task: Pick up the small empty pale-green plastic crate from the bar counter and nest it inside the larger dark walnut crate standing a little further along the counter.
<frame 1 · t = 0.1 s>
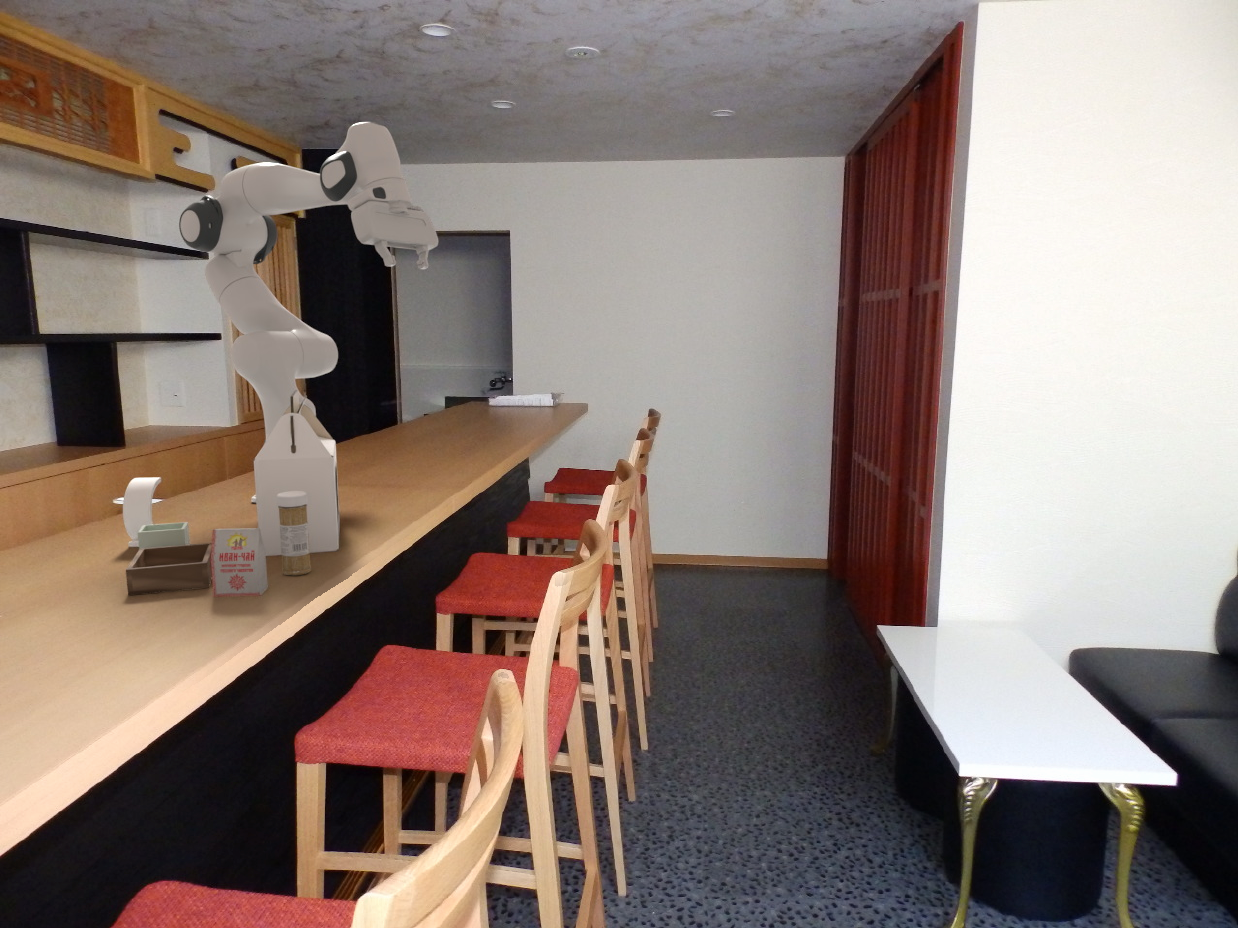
hand: (407, 267, 169), 52 cm above the table, tool tilted 20°, fingers open, 8 cm apart
large crate: (174, 579, 134), on the table
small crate: (166, 560, 145), on the table
headphone stand: (146, 544, 156), on the table
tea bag: (241, 593, 128), on the table
gable box: (302, 540, 160), on the table
sprinkles bottle: (296, 573, 139), on the table
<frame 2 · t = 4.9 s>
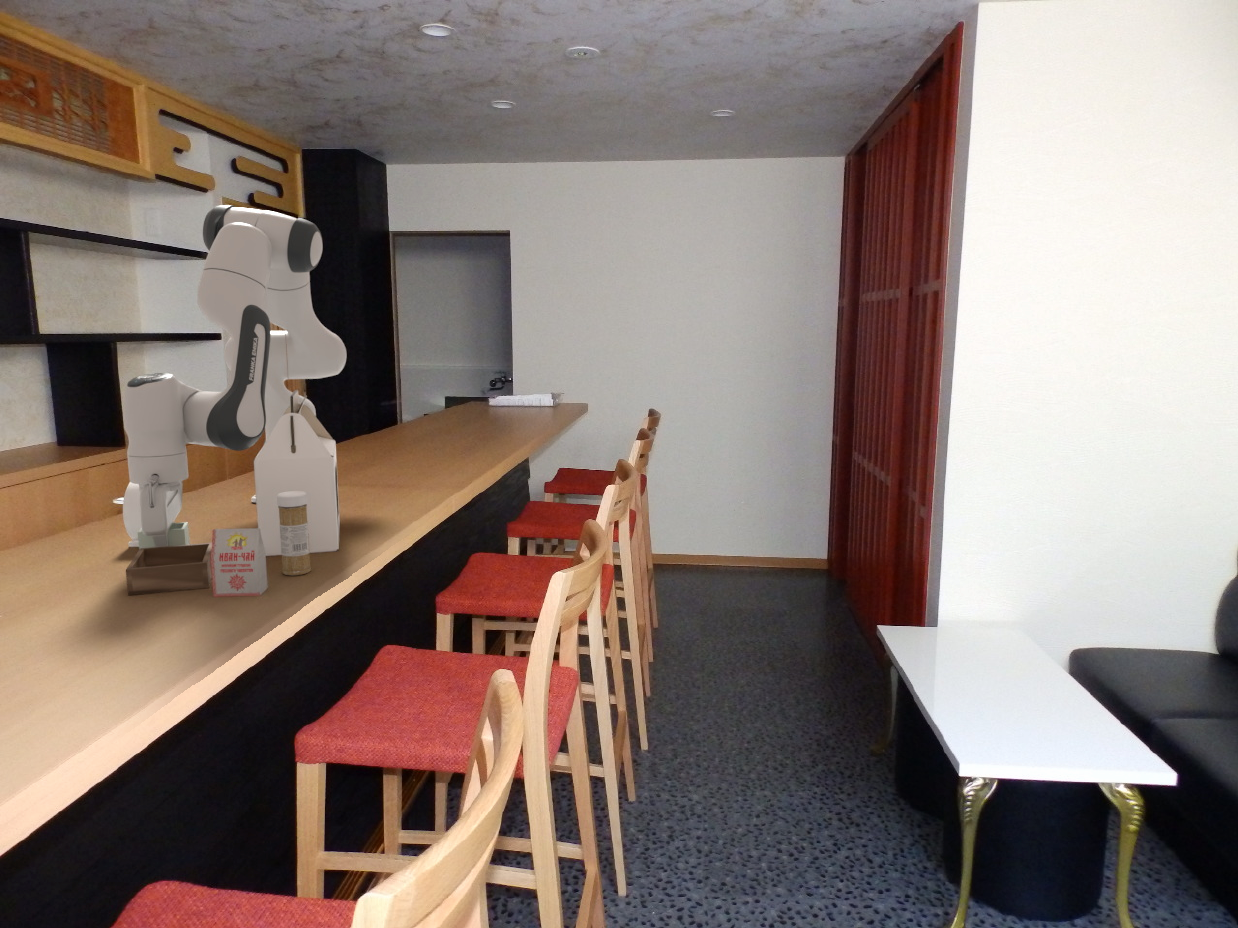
hand: (165, 548, 145), 2 cm above the table, tool pointing down, fingers closed on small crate, 5 cm apart
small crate: (166, 560, 145), on the table, touching gripper
everything else where it was.
when the fingers open (3 cm above the table, at t = 9.4 s): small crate stays where it is, resting on large crate.
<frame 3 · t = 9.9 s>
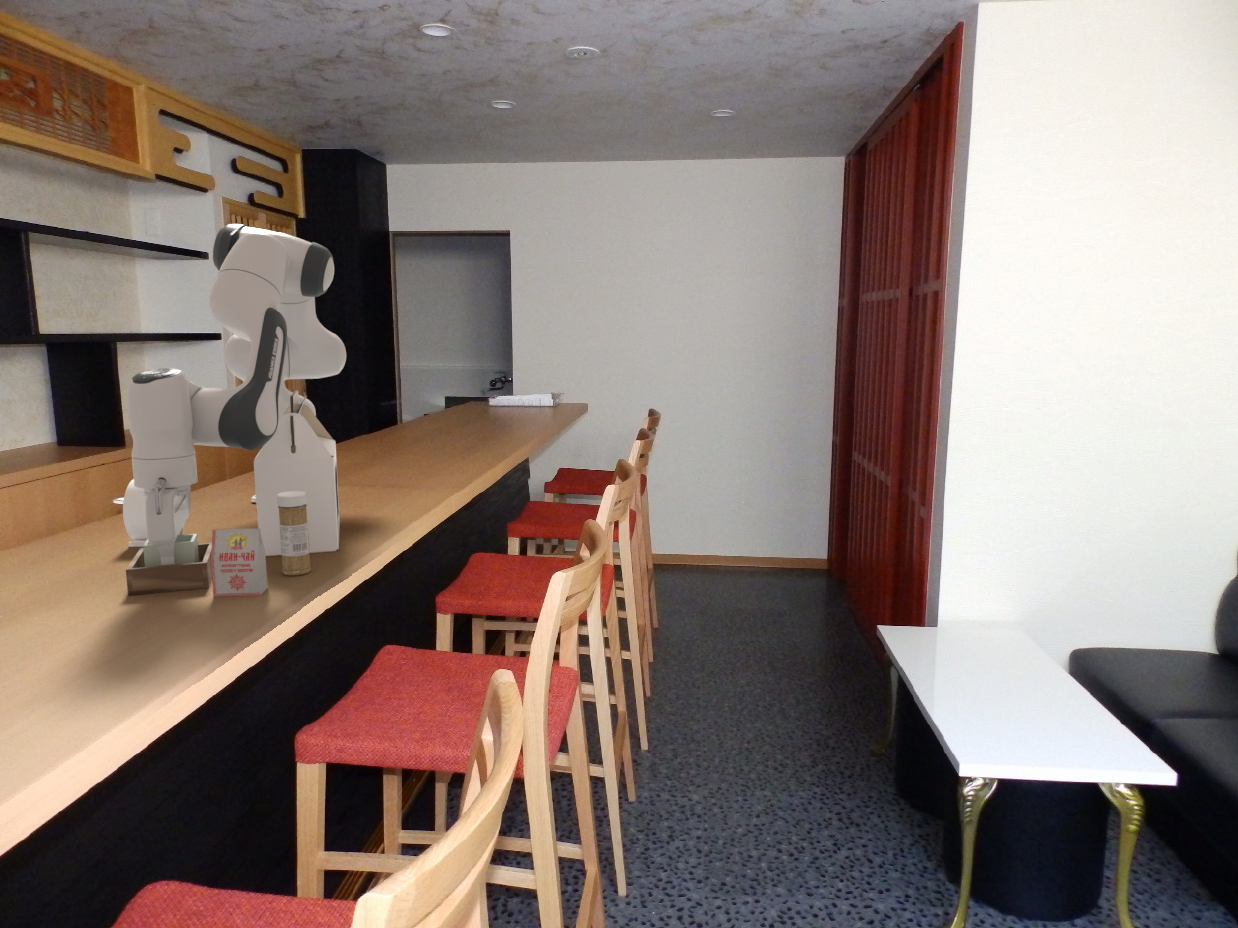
hand: (172, 558, 134), 3 cm above the table, tool pointing down, fingers open, 8 cm apart
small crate: (173, 575, 134), point 1 cm above the table, touching large crate
everything else where it was.
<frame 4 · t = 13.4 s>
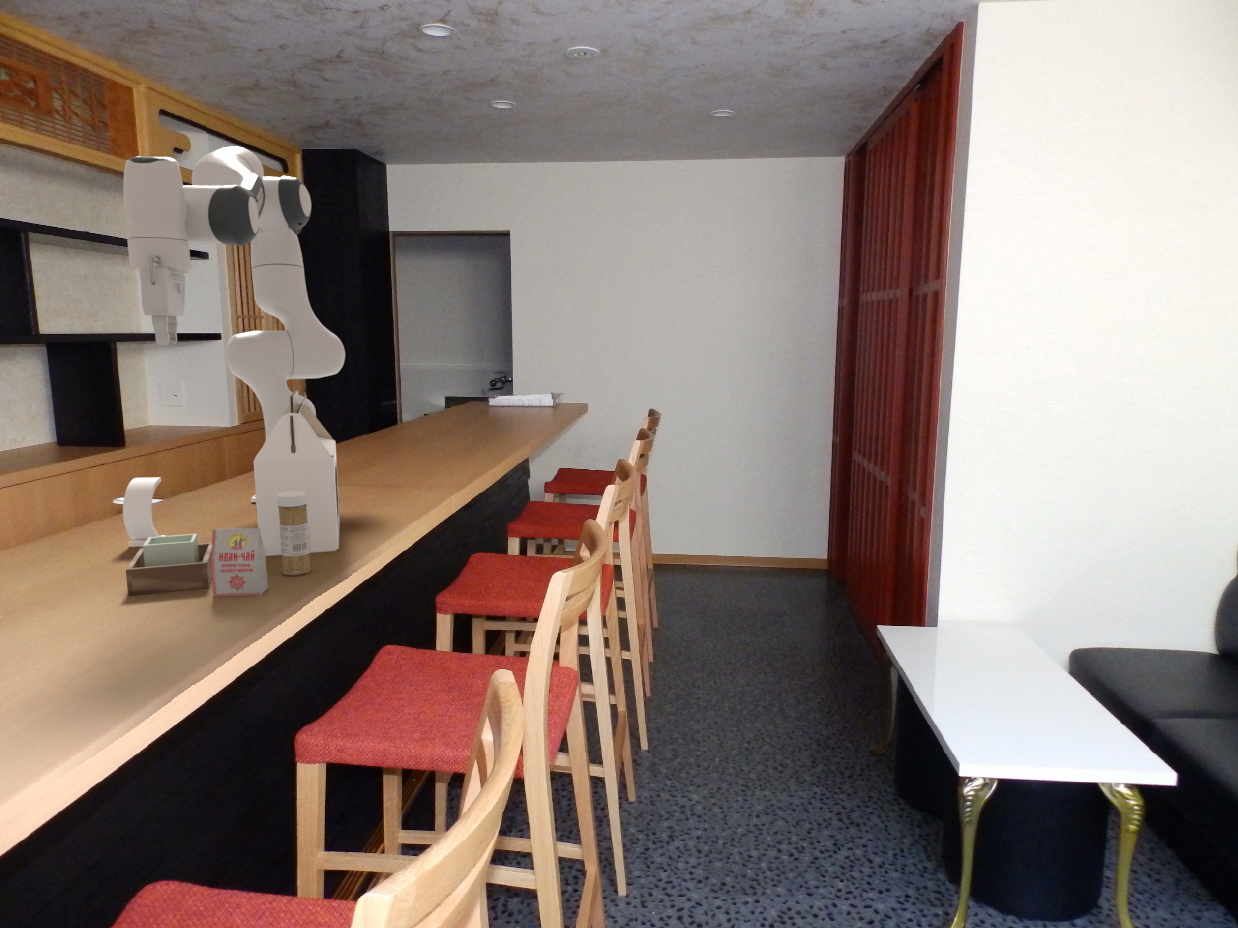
hand: (167, 344, 139), 37 cm above the table, tool pointing down, fingers open, 8 cm apart
nothing on the table moved.
at the end: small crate 0.1 cm off-centre on the large crate, point 0.6 cm above the large crate's base; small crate tilted 0°; the gripper is holding nothing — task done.
